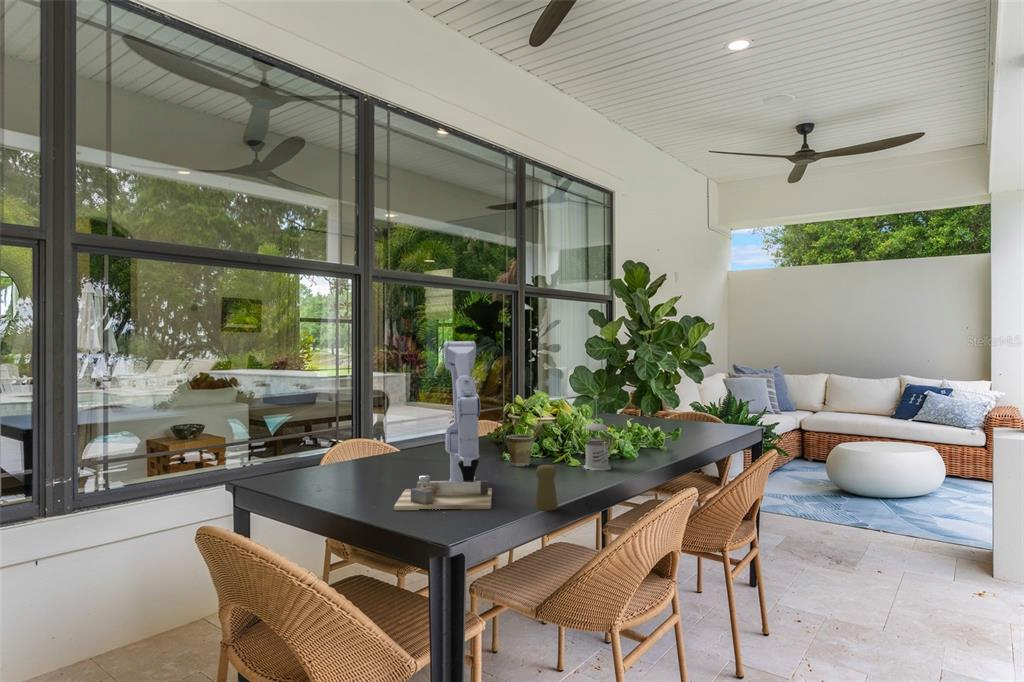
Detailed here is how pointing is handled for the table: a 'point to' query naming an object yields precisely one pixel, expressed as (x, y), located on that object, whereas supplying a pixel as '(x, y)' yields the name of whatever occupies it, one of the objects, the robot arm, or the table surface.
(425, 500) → the grey rectangular block
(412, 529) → the table surface
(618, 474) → the table surface
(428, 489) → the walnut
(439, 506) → the cracker board
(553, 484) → the pepper mill
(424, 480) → the lever
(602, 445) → the french press
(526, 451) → the flower pot
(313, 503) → the table surface
